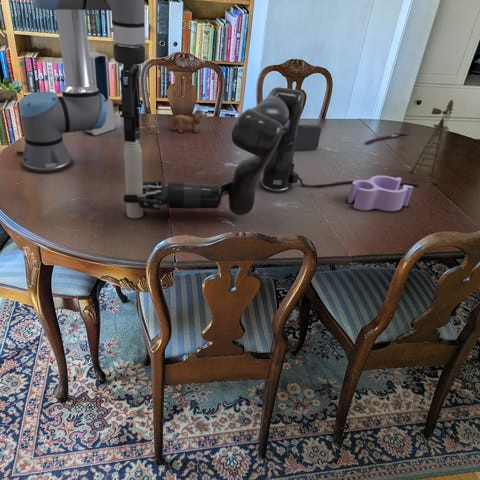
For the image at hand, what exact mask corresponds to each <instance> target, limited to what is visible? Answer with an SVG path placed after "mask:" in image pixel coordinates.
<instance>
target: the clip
mask: <svg viewBox="0 0 480 480" xmlns="http://www.w3.org/2000/svg"><path fill="white" fill-rule="evenodd" d="M402 179H403V178H402V177H399V176H398V177H393V176H389V175H374V176H371V177H370V178H369V179H355V180H352V181H353V183H351V187H350V191H349V195H348V199H347V203H348V204H349V203H350V204H352V203H353V202H354V204H353V208H354V209H356V210H360V211H370V210H373V209H374V210H375V209H376V210H380V211H383V212H396V211H399V210H401V209H402V207H403V206H404V207H408V204H409V202H410V198H411V195H412V192H413V189H414V185H403V184H402V188H401V189H399V188H400V185H401V184H400V182H402Z"/></svg>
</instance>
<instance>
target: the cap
mask: <svg viewBox="0 0 480 480" xmlns="http://www.w3.org/2000/svg"><path fill="white" fill-rule="evenodd" d="M135 135H136V139H138V140H139V139H140V138H141V129H139V128H137V127H135Z"/></svg>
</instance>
